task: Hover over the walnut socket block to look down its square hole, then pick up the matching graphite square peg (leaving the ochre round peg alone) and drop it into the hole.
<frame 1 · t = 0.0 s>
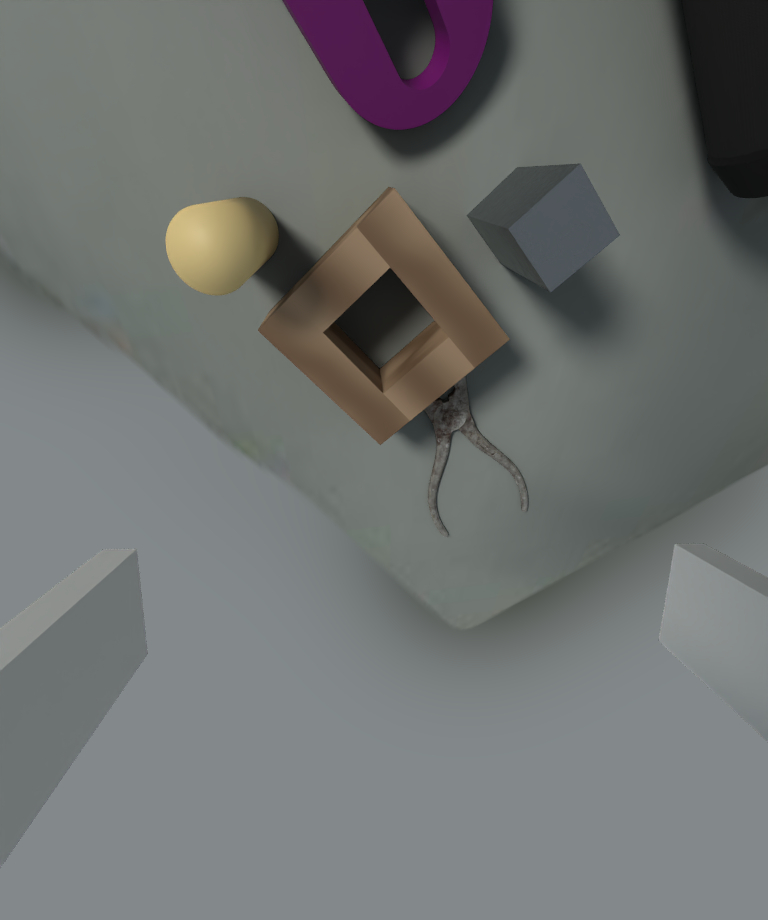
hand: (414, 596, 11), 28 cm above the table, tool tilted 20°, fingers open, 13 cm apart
square peg: (508, 217, 32), on the table
pliers: (447, 452, 43), on the table
socket block: (382, 315, 35), on the table
round peg: (247, 232, 32), on the table
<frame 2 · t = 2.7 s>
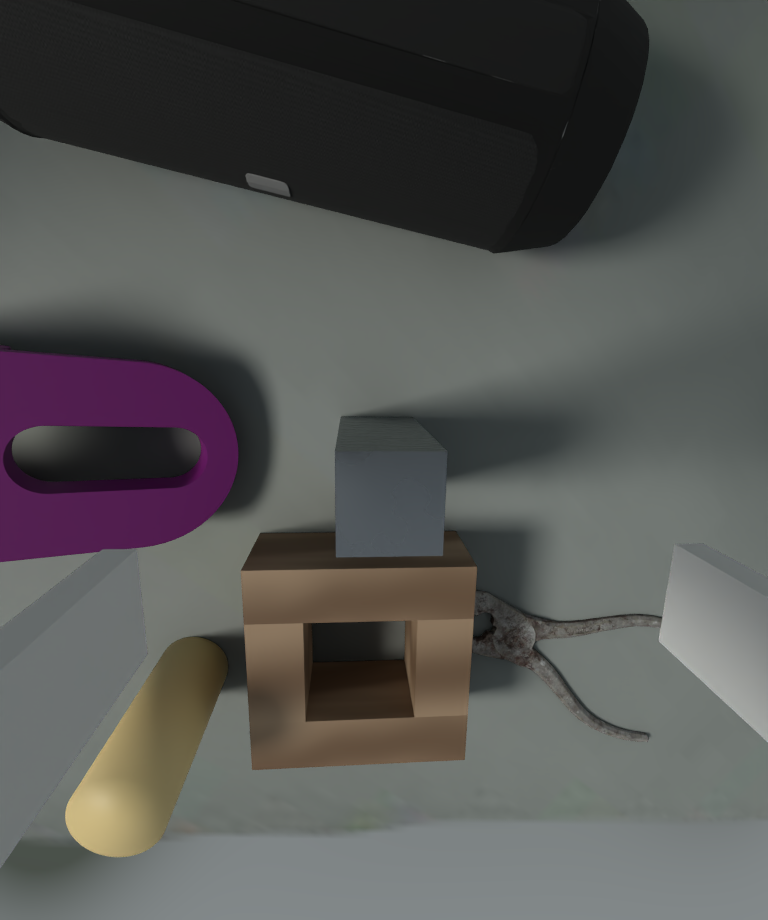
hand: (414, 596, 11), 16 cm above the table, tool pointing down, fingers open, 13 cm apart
square peg: (376, 452, 27), on the table
pliers: (551, 662, 32), on the table
socket block: (359, 620, 30), on the table
round peg: (194, 666, 29), on the table
mounting bracket: (80, 435, 26), on the table
portable speaker: (303, 124, 24), on the table
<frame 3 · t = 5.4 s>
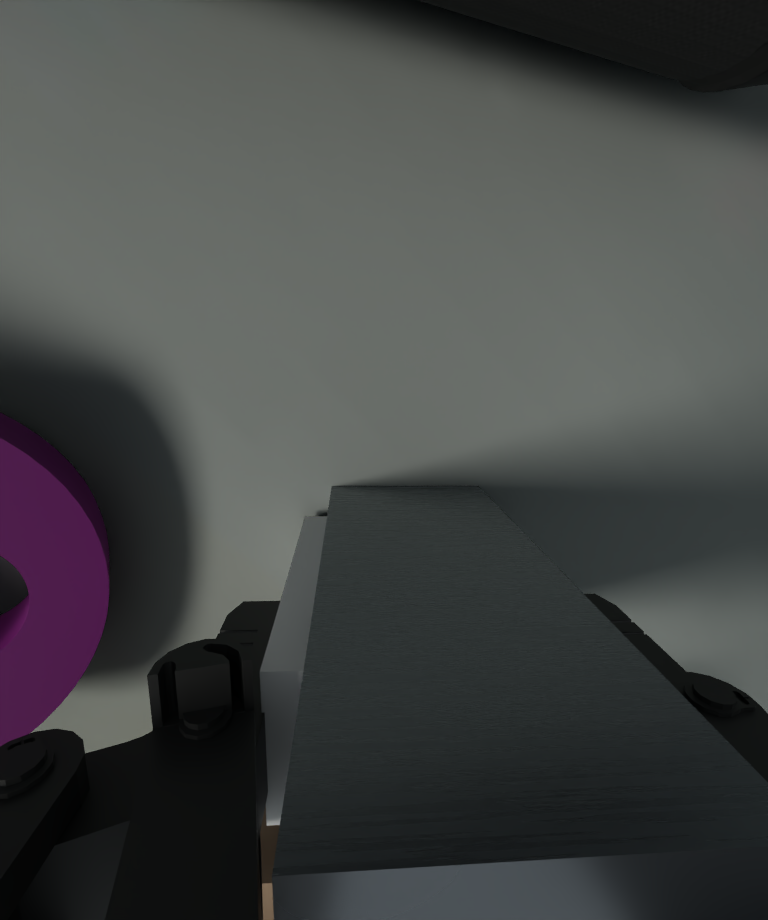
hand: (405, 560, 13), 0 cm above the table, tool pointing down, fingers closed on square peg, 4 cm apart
square peg: (403, 554, 14), on the table, touching gripper
socket block: (366, 852, 16), on the table
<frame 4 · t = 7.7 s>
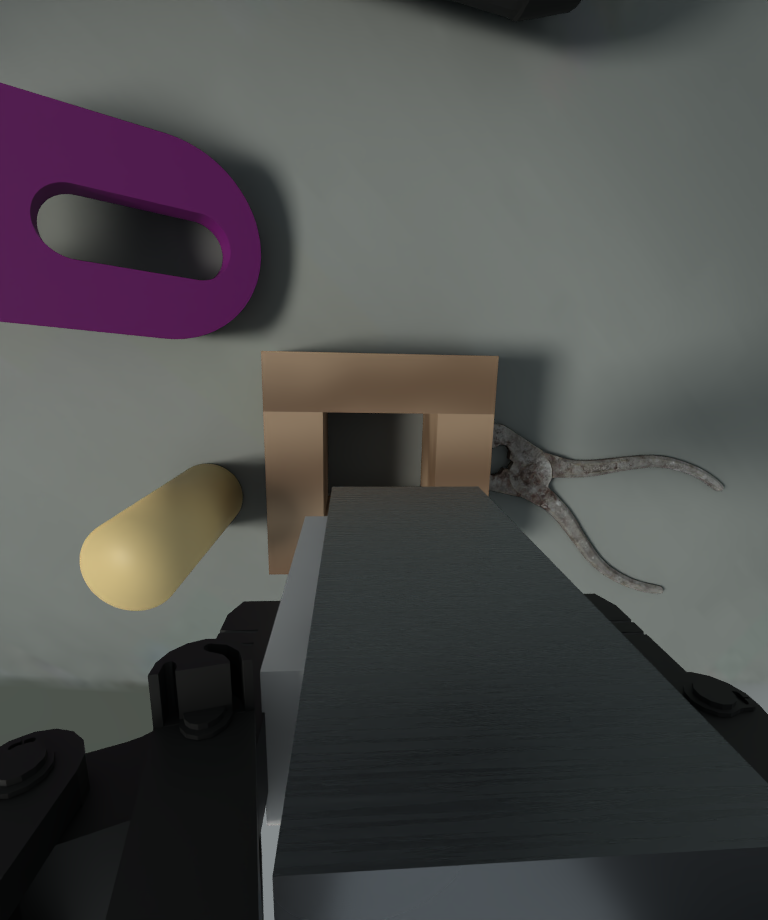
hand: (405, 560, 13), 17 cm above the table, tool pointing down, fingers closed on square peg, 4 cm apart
square peg: (404, 555, 14), point 16 cm above the table, touching gripper
pliers: (567, 507, 32), on the table
socket block: (375, 450, 29), on the table
round peg: (209, 495, 29), on the table
mounting bracket: (102, 246, 26), on the table
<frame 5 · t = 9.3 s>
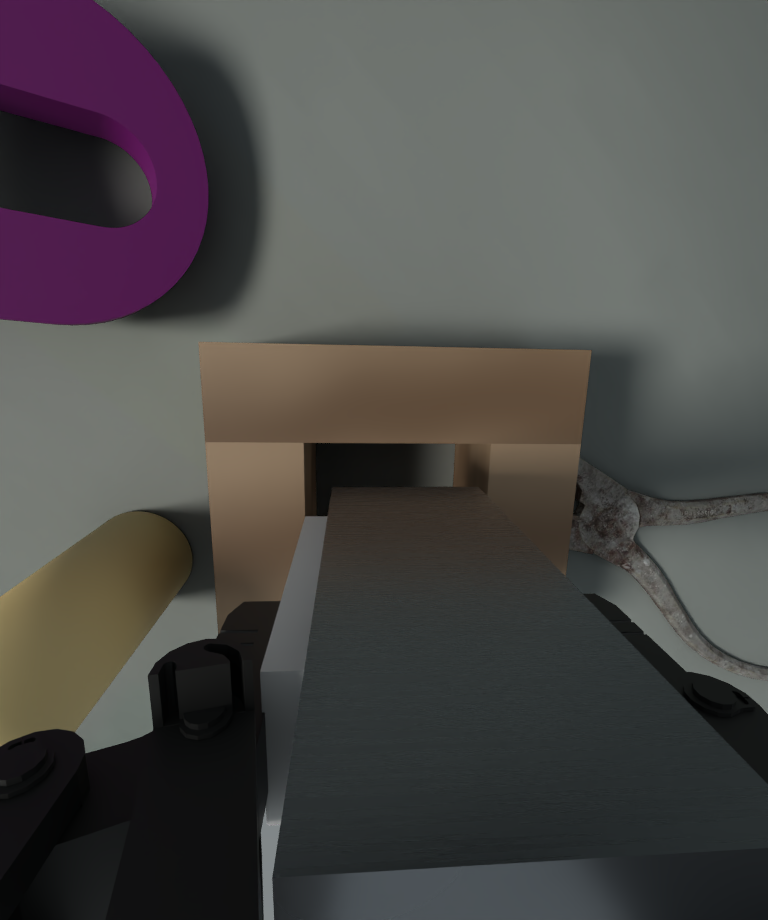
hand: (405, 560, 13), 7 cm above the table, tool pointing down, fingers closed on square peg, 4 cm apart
square peg: (404, 555, 14), point 7 cm above the table, touching gripper
pliers: (654, 565, 23), on the table
socket block: (385, 489, 20), on the table
round peg: (143, 556, 20), on the table
when the fingers open (6 cm above the table, at t = 10.5 s): square peg drops 6 cm, resting in socket block.
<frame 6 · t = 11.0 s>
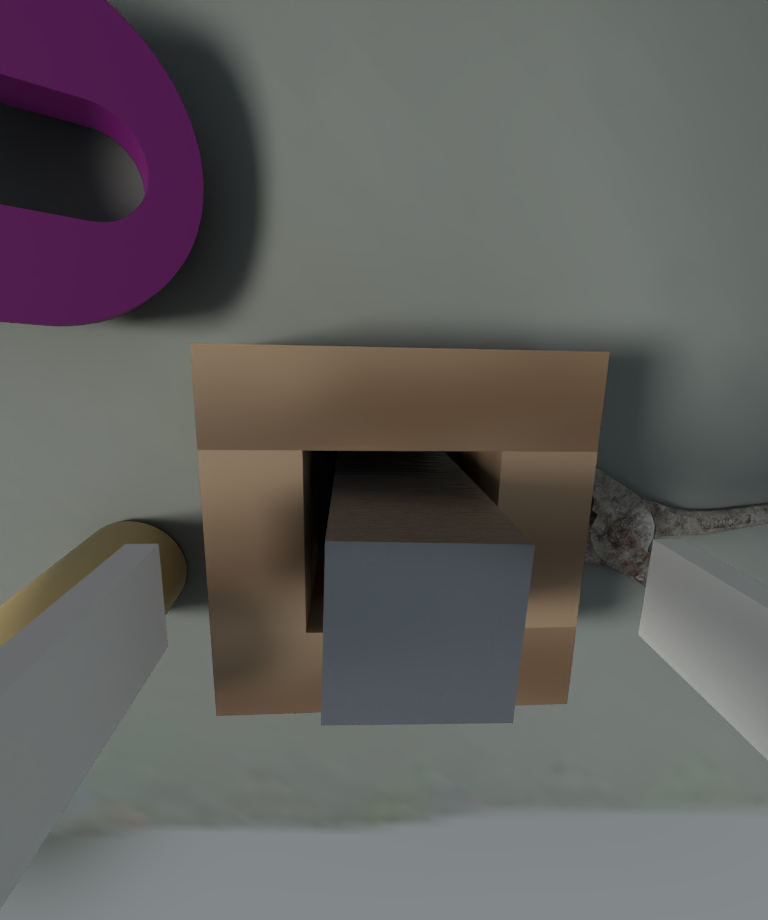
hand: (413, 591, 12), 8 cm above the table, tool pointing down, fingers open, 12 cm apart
square peg: (387, 496, 19), resting in socket block
pliers: (668, 576, 22), on the table
socket block: (388, 497, 19), on the table
round peg: (134, 568, 19), on the table
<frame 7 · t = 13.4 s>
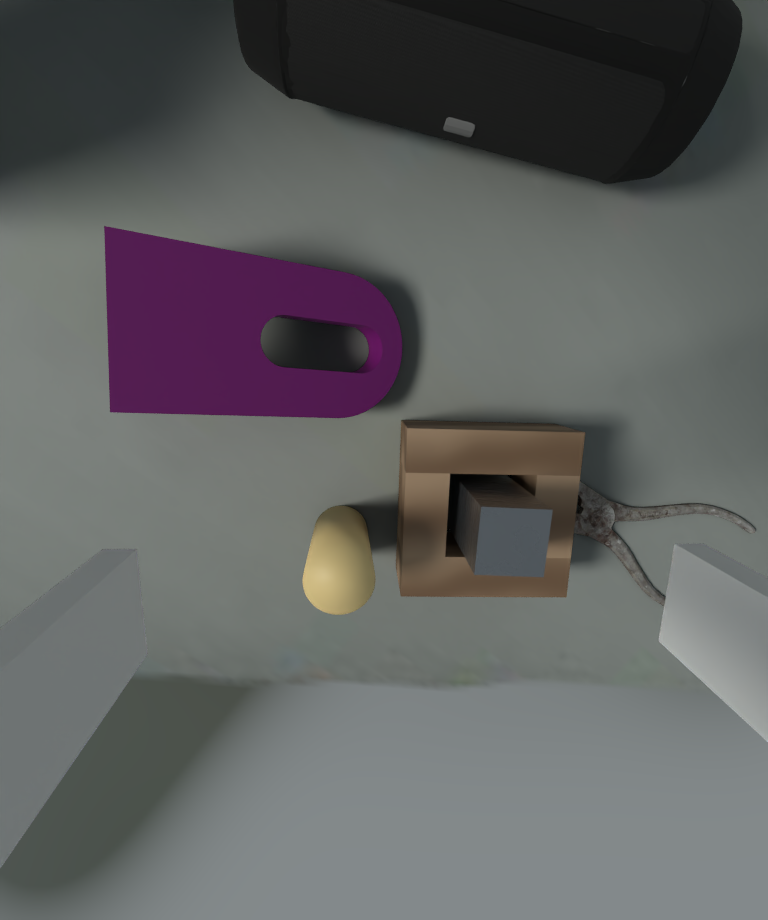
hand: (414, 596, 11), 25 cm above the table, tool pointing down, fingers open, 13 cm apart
square peg: (473, 496, 37), resting in socket block
pliers: (624, 544, 39), on the table
socket block: (473, 496, 37), on the table
round peg: (340, 531, 37), on the table
mounting bracket: (275, 344, 34), on the table
portable speaker: (459, 93, 31), on the table
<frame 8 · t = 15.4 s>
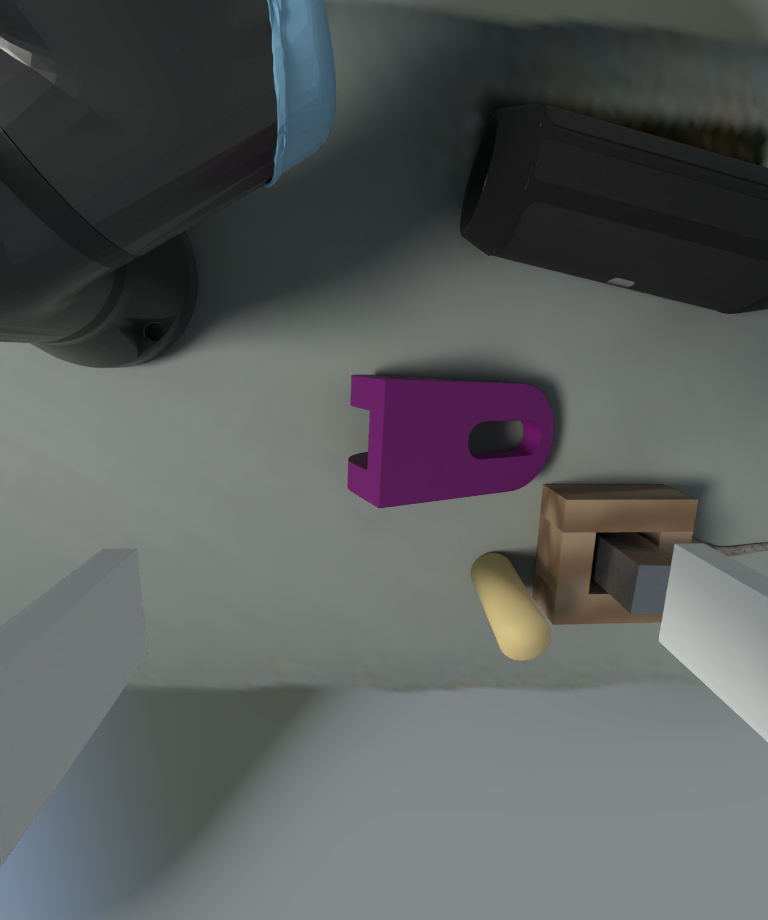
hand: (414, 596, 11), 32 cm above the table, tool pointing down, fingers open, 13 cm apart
square peg: (595, 541, 46), resting in socket block
pliers: (709, 575, 49), on the table
socket block: (595, 541, 46), on the table
round peg: (491, 571, 46), on the table, tilted 5°
mounting bracket: (448, 429, 43), on the table
portable speaker: (600, 235, 40), on the table
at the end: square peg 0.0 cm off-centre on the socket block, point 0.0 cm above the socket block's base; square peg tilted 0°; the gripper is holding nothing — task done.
